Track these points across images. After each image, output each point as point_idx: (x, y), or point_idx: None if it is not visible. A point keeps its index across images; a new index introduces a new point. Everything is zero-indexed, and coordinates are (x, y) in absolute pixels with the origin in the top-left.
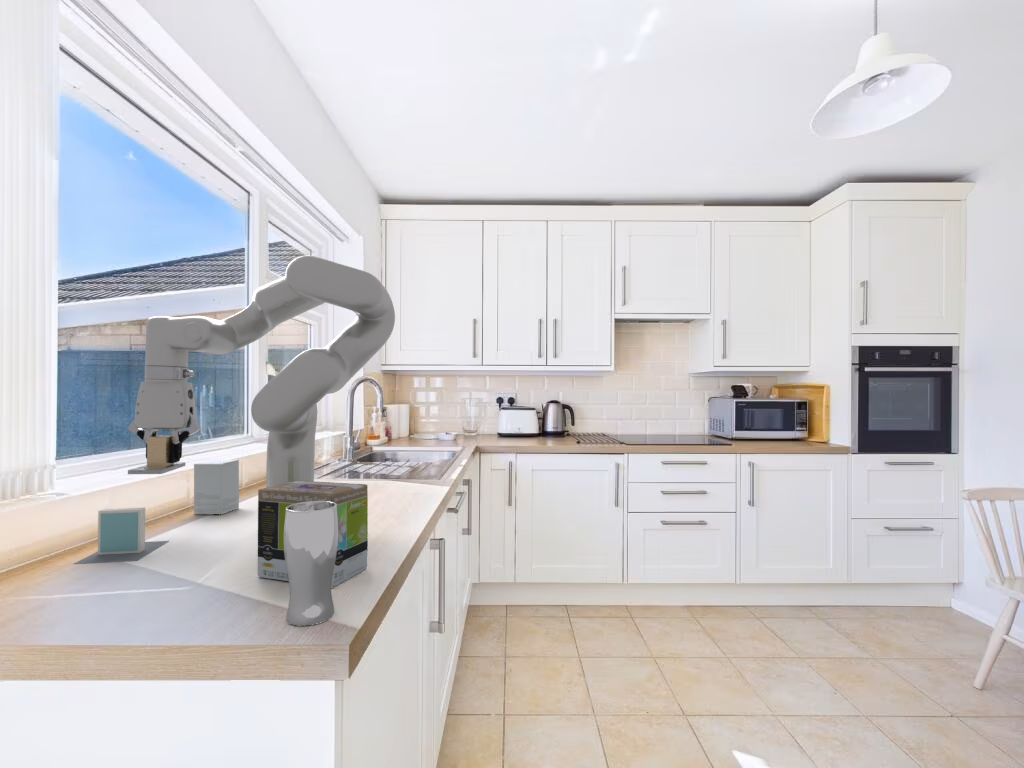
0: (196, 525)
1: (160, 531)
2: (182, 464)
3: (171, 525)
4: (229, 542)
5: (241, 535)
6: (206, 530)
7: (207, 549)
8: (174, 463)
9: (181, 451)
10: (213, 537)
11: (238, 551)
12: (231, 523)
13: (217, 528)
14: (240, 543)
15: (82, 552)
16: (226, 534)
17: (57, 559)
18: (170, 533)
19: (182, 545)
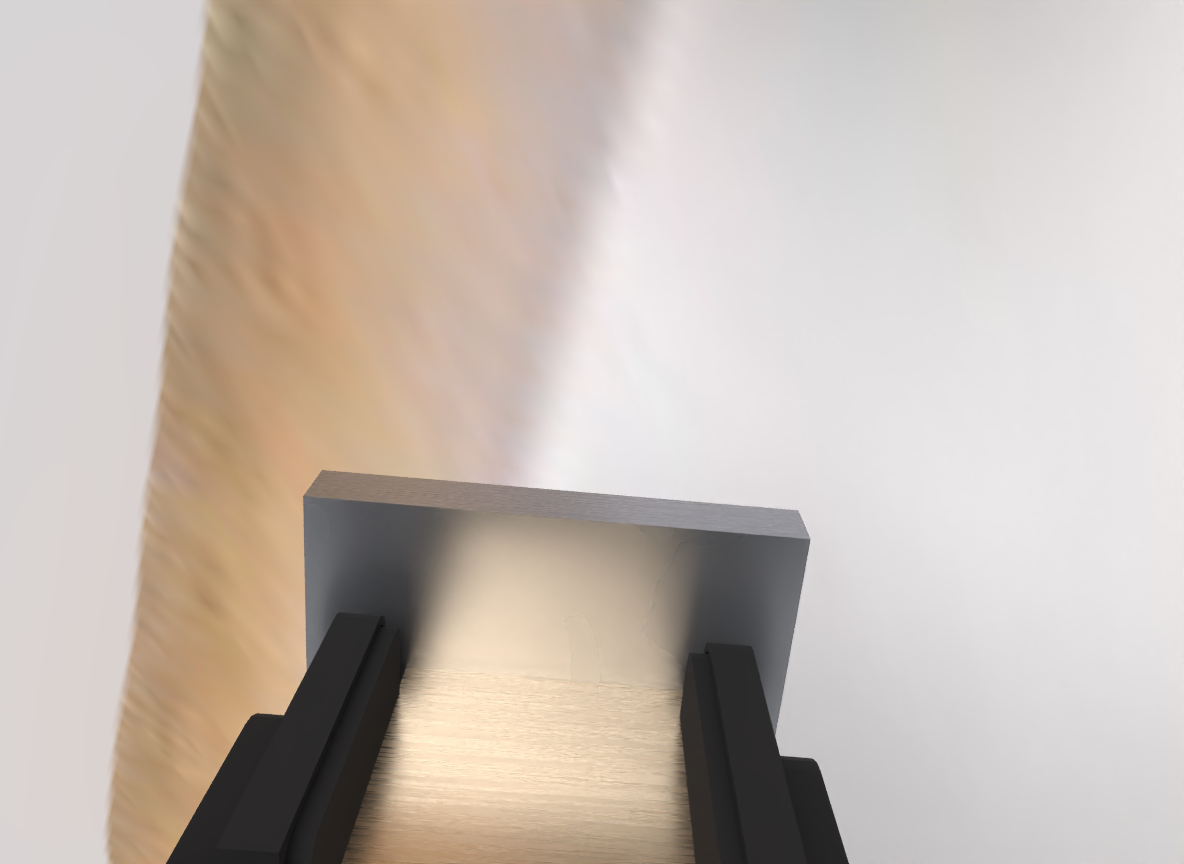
0: (754, 115)
1: (524, 261)
2: (788, 620)
3: (533, 60)
4: (1097, 673)
5: (1162, 525)
6: (879, 316)
7: (984, 780)
8: (678, 657)
9: (832, 834)
10: (972, 531)
11: (1167, 855)
12: (1048, 112)
13: (955, 271)
14: (1168, 710)
15: (268, 672)
16: (1052, 473)
17: (216, 767)
18: (626, 344)
19: (812, 668)
